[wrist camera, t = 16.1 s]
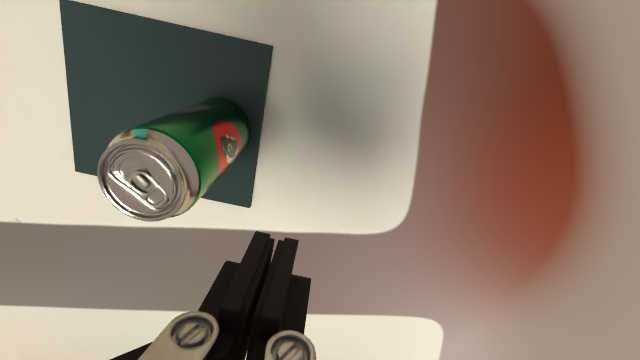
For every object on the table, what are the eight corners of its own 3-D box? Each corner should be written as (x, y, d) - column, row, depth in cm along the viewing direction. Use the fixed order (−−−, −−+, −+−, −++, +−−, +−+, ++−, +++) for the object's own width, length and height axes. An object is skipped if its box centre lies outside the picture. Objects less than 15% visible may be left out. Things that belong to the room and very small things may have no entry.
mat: (63, -1, 24) (58, -2, 24) (272, 46, 25) (271, 46, 24) (78, 170, 29) (75, 171, 29) (250, 206, 30) (249, 208, 29)
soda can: (224, 83, 25) (134, 109, 14) (265, 133, 27) (213, 193, 16) (180, 121, 27) (67, 172, 16) (222, 167, 28) (145, 245, 17)
